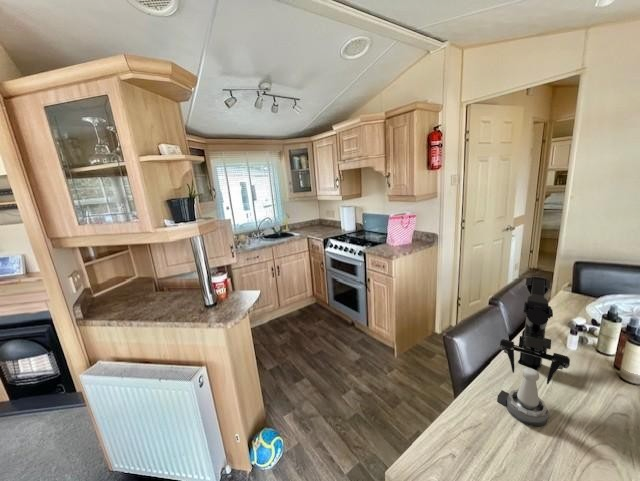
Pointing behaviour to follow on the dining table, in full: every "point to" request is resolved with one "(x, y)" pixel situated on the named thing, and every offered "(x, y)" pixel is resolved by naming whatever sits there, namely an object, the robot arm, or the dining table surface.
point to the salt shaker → (529, 389)
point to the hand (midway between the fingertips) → (529, 378)
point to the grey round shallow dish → (524, 409)
